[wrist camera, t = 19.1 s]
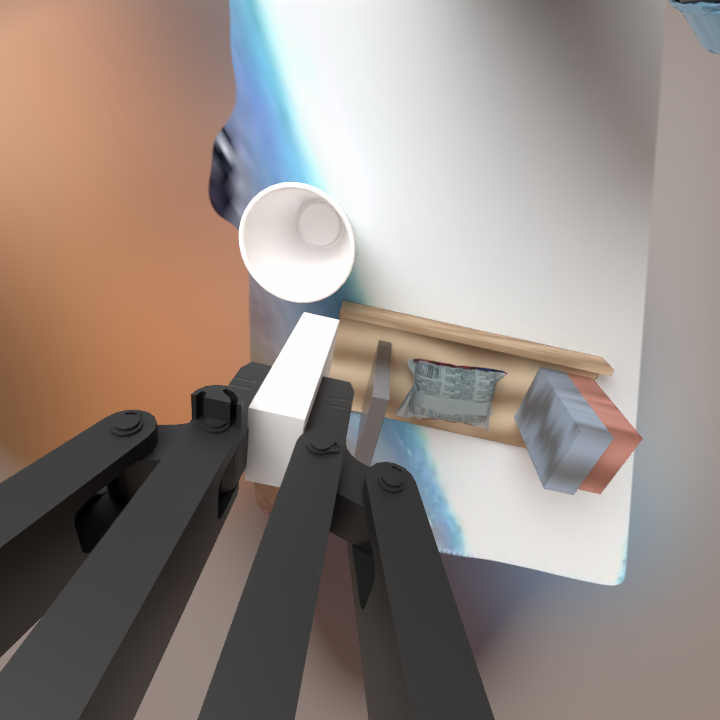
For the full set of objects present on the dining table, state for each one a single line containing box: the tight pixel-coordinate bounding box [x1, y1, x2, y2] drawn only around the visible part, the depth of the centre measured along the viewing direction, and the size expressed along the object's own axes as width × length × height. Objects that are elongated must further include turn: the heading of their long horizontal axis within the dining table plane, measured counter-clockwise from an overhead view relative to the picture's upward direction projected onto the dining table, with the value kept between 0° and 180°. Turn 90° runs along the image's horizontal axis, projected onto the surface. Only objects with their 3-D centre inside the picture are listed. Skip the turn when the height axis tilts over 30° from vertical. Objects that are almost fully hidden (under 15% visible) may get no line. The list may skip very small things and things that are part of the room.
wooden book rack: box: [329, 300, 642, 495], centre depth 44 cm, size 15×32×13 cm, turn 79°
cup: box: [239, 182, 356, 303], centre depth 36 cm, size 10×10×11 cm
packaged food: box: [395, 359, 507, 431], centre depth 46 cm, size 9×12×5 cm
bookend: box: [355, 340, 392, 467], centre depth 43 cm, size 10×2×12 cm, turn 169°
